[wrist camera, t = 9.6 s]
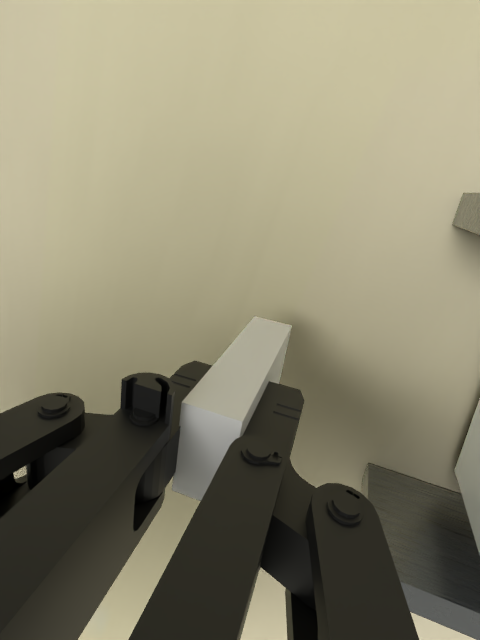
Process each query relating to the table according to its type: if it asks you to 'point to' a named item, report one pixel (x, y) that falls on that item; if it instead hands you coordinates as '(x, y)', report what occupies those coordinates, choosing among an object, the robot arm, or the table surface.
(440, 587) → the bay
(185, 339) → the table surface
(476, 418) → the white chamfered box
